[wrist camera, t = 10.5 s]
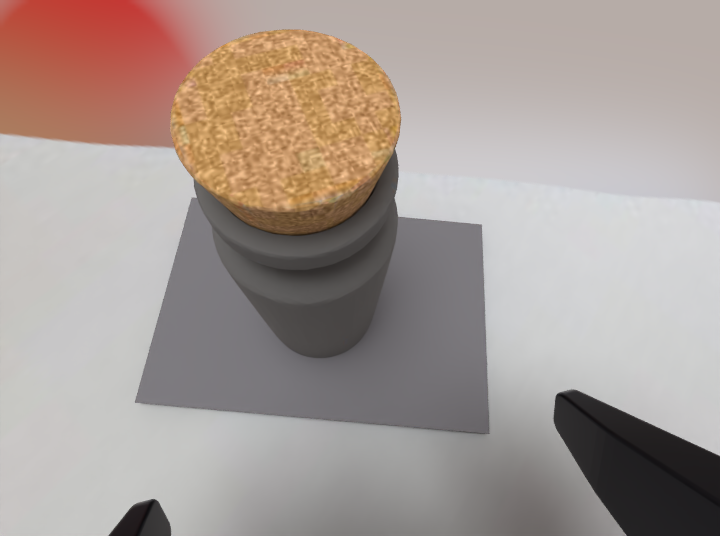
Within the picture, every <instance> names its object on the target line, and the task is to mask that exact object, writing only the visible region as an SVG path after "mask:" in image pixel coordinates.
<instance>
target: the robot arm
mask: <svg viewBox="0 0 720 536" xmlns="http://www.w3.org/2000/svg"><path fill="white" fill-rule="evenodd" d="M554 424H555V427H556V429H557V431H558V432H559V434H560V436H561V437H562V439H563V441H564V442H565V444H566V446H567V447H568V449H569V451H570V452H571V454H572V456H573V457H574V459H575V460H576V462H577V464H578V465H579V467H580V469H581V470H582V472H583V474H584V475H585V477H586V479H587V480H588V482H589V483H590V485H591V487H592V488H593V490H594V491H595V493H596V494H597V496H598V497H599V498H600V500H601V501H602V503H603V504H604V505H605V507H606V508H607V509H608V511H609V512H610V514H611V515H612V516H613V518H614V519H615V520H616V522H617V523H618V524H619V526H620V527H621V528H622V530H623V531H624V532H625V534H626V535H627V536H720V456H719V455H716V454H714V453H712V452H710V451H708V450H706V449H703V448H701V447H699V446H697V445H695V444H693V443H690V442H688V441H686V440H684V439H682V438H680V437H677V436H675V435H673V434H671V433H669V432H667V431H664V430H662V429H660V428H658V427H656V426H653V425H651V424H649V423H647V422H645V421H643V420H640V419H638V418H636V417H634V416H632V415H630V414H627V413H625V412H623V411H621V410H619V409H617V408H614V407H612V406H610V405H608V404H606V403H604V402H601V401H599V400H597V399H595V398H593V397H591V396H588V395H586V394H584V393H582V392H580V391H577V390H567V391H564V392H560V393H558V394H557V395H556V398H555V408H554ZM109 536H171V527H170V523H169V521H168V519H167V517H166V515H165V513H164V511H163V509H162V508H161V506H160V504H159V502H158V501H157V500H155V499H151V500H147V501H143V502H140V503H137V504H135V505H133V506H132V507H131V508H130V509H129V511H128V512H127V513H126V514H125V516H124V517H123V518H122V519H121V521H120V522H119V523H118V524H117V526H116V527H115V528H114V529H113V531H112V532H111V533H110V534H109Z"/></svg>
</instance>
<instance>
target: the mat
mask: <svg viewBox="0 0 720 536" xmlns="http://www.w3.org/2000/svg"><path fill="white" fill-rule="evenodd" d="M135 403H146V404H158V405H169V406H180V407H192V408H203V409H214V410H225V411H237V412H248V413H259V414H271V415H282V416H293V417H305V418H316V419H327V420H339V421H350V422H361V423H373V424H384V425H395V426H407V427H418V428H429V429H440V430H452V431H463V432H474V433H486V434H489V411H488V384H487V356H486V329H485V301H484V274H483V247H482V225H479V224H469V223H458V222H447V221H437V220H426V219H415V218H405V217H398V226H397V235H396V242H395V246H394V249H393V253H392V256H391V260H390V263H389V267H388V270H387V274H386V277H385V280H384V283H383V287H382V290H381V293H380V296H379V299H378V303H377V306H376V309H375V312H374V315H373V318H372V321H371V323H370V326H369V328H368V330H367V332H366V333H365V335H364V336H363V337H362V339H361V340H360V341H359V342H358V343H357V344H356V345H355V346H353V347H352V348H351V349H349V350H348V351H346V352H344V353H342V354H339V355H336V356H333V357H328V358H313V357H307V356H304V355H301V354H298V353H296V352H295V351H293V350H291V349H290V348H288V347H287V346H286V345H285V344H284V343H283V342H282V341H281V340H280V339H279V338H278V337H277V336H276V335H275V334H274V332H273V331H272V330H271V328H270V327H269V326H268V325H267V323H266V322H265V321H264V320H263V318H262V317H261V316H260V314H259V313H258V312H257V310H256V309H255V308H254V306H253V305H252V304H251V302H250V301H249V300H248V298H247V297H246V296H245V294H244V293H243V292H242V291H241V289H240V288H239V287H238V285H237V284H236V283H235V281H234V280H233V278H232V277H231V276H230V274H229V272H228V271H227V269H226V268H225V266H224V265H223V263H222V262H221V259H220V257H219V255H218V253H217V250H216V247H215V243H214V240H213V233H212V226H211V224H210V223H209V221H208V219H207V218H206V216H205V215H204V213H203V211H202V209H201V207H200V205H199V202H198V199H197V198H192V199H191V202H190V206H189V210H188V213H187V217H186V220H185V224H184V228H183V231H182V235H181V238H180V242H179V246H178V249H177V253H176V256H175V260H174V263H173V267H172V271H171V274H170V278H169V281H168V285H167V289H166V292H165V296H164V299H163V303H162V307H161V310H160V314H159V317H158V321H157V325H156V328H155V332H154V335H153V339H152V342H151V346H150V350H149V353H148V357H147V360H146V364H145V368H144V371H143V375H142V378H141V382H140V386H139V389H138V393H137V396H136V400H135Z"/></svg>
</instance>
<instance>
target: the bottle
mask: <svg viewBox="0 0 720 536" xmlns="http://www.w3.org/2000/svg"><path fill="white" fill-rule="evenodd" d="M400 123H401V114H400V107H399V102H398V98H397V95H396V92H395V89H394V87H393V85H392V83H391V81H390V79H389V78H388V76H387V75H386V74H385V72H384V71H383V70H382V68H381V67H380V66H379V65H378V64H377V63H376V62H375V61H374V60H373V59H372V58H371V57H369V56H368V55H367V54H365V53H364V52H362V51H361V50H359V49H358V48H356V47H355V46H353V45H352V44H350V43H347V42H345V41H342V40H340V39H338V38H335V37H333V36H329V35H325V34H322V33H318V32H312V31H306V30H274V31H265V32H258V33H254V34H250V35H246V36H243V37H241V38H238V39H235V40H233V41H231V42H229V43H227V44H225V45H223V46H221V47H219V48H217V49H216V50H214V51H213V52H211V53H210V54H208V55H207V56H206V57H204V58H203V59H201V61H200V62H199V63H198V64H197V65H196V66H195V67H194V68H193V69H192V70H191V71H190V72H189V74H188V75H187V76H186V78H185V79H184V80H183V82H182V83H181V85H180V86H179V89H178V91H177V93H176V96H175V98H174V102H173V106H172V110H171V126H170V130H171V135H172V139H173V143H174V146H175V150H176V153H177V155H178V157H179V159H180V161H181V162H182V164H183V165H184V167H185V168H186V169H187V171H188V172H189V174H190V175H191V176H192V177H193V178H194V188H195V191H196V195H197V199H198V202H199V205H200V207H201V209H202V211H203V213H204V215H205V216H206V218H207V219H208V221H209V223H210V224H211V226H212V233H213V240H214V243H215V247H216V250H217V253H218V255H219V257H220V259H221V262H222V263H223V265H224V266H225V268H226V269H227V271H228V272H229V274H230V276H231V277H232V278H233V280H234V281H235V283H236V284H237V285H238V287H239V288H240V289H241V291H242V292H243V293H244V294H245V296H246V297H247V298H248V300H249V301H250V302H251V304H252V305H253V306H254V308H255V309H256V310H257V312H258V313H259V314H260V316H261V317H262V318H263V320H264V321H265V322H266V323H267V325H268V326H269V327H270V328H271V330H272V331H273V332H274V334H275V335H276V336H277V337H278V338H279V339H280V340H281V341H282V342H283V343H284V344H285V345H286V346H287V347H288V348H290V349H291V350H293V351H295V352H296V353H298V354H301V355H304V356H307V357H313V358H328V357H333V356H336V355H339V354H342V353H344V352H346V351H348V350H349V349H351V348H352V347H353V346H355V345H356V344H357V343H358V342H359V341H360V340H361V339H362V337H363V336H364V335H365V333H366V332H367V330H368V328H369V326H370V323H371V321H372V318H373V315H374V312H375V309H376V306H377V303H378V299H379V296H380V293H381V290H382V287H383V283H384V280H385V277H386V274H387V270H388V267H389V263H390V260H391V256H392V253H393V249H394V246H395V242H396V235H397V226H398V214H397V207H396V203H395V199H394V197H395V194H396V190H397V184H398V160H397V154H396V151H395V147H396V144H397V141H398V138H399V133H400Z"/></svg>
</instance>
